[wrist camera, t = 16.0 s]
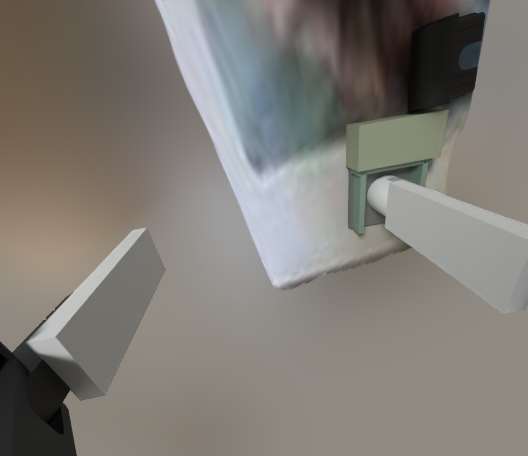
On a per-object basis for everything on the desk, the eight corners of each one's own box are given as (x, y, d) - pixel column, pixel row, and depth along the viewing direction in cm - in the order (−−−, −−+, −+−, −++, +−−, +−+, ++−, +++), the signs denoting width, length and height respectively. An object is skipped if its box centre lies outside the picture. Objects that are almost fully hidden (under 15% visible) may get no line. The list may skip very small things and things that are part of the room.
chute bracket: (346, 124, 38) (359, 125, 34) (426, 110, 38) (449, 109, 34) (345, 227, 46) (356, 237, 42) (411, 215, 47) (427, 224, 43)
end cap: (398, 37, 33) (434, 19, 27) (445, 24, 33) (492, 2, 27) (397, 111, 38) (428, 109, 32) (438, 99, 38) (477, 95, 32)
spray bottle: (398, 206, 44) (489, 254, 28) (364, 211, 44) (438, 264, 28) (402, 171, 41) (508, 204, 25) (366, 177, 41) (450, 214, 25)
